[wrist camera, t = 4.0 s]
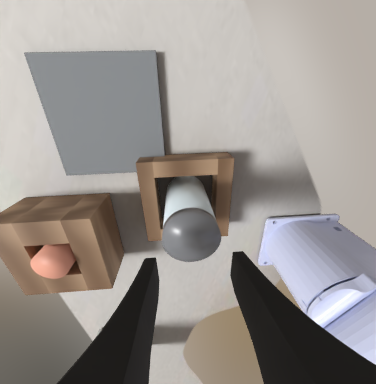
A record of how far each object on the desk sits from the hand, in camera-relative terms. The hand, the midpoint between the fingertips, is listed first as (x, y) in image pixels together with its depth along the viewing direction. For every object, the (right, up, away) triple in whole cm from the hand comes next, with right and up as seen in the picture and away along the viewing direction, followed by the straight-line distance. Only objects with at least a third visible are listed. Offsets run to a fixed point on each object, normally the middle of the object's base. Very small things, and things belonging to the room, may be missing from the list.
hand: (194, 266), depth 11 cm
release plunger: (-13, 0, +10) cm, 17 cm away
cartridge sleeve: (-1, +5, +9) cm, 10 cm away
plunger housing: (-13, 0, +10) cm, 17 cm away
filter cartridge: (-1, +5, +9) cm, 10 cm away
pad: (-8, +11, +6) cm, 15 cm away
